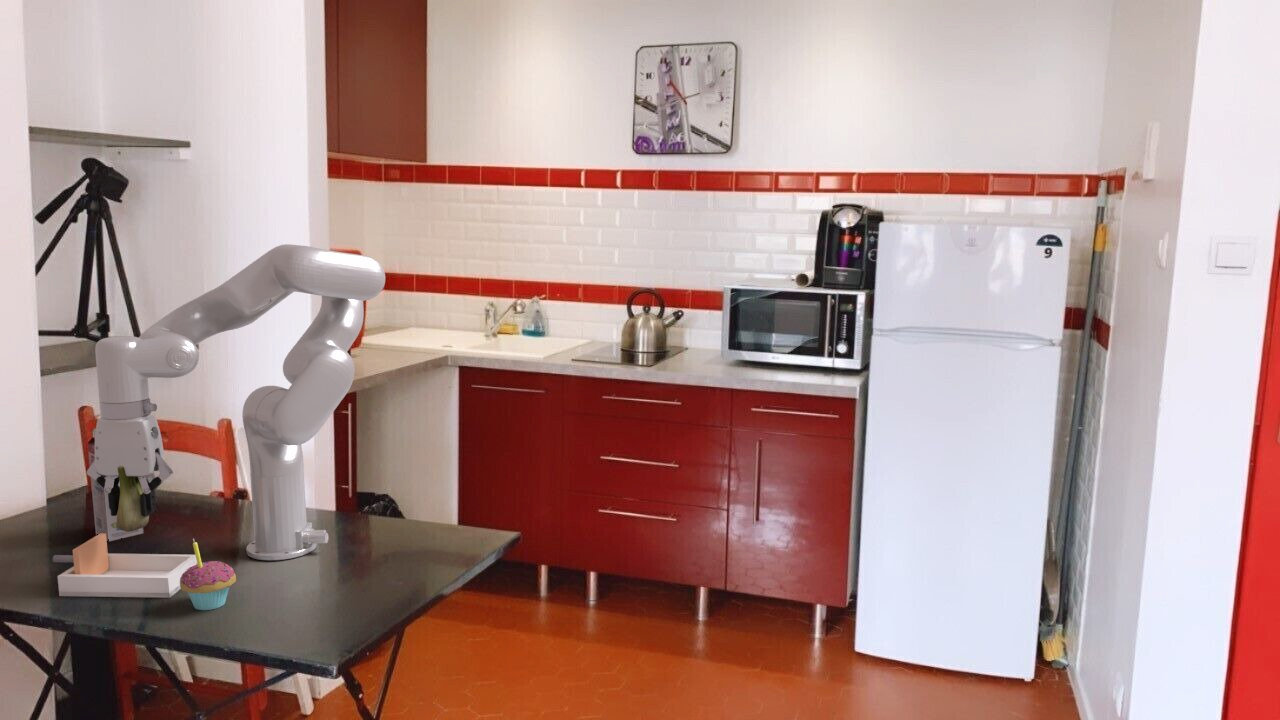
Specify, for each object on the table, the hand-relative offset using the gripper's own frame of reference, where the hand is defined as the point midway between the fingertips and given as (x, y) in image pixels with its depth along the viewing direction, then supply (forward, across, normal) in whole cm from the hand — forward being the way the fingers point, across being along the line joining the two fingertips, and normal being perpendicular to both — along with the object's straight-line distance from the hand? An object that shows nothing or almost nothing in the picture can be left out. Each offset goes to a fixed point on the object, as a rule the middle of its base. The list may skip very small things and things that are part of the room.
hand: (133, 512), depth 175 cm
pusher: (+12, +11, 0) cm, 16 cm away
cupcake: (+13, -16, +8) cm, 22 cm away
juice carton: (+13, +18, -26) cm, 34 cm away
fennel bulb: (+3, 0, 0) cm, 3 cm away
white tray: (+13, +1, 0) cm, 13 cm away
